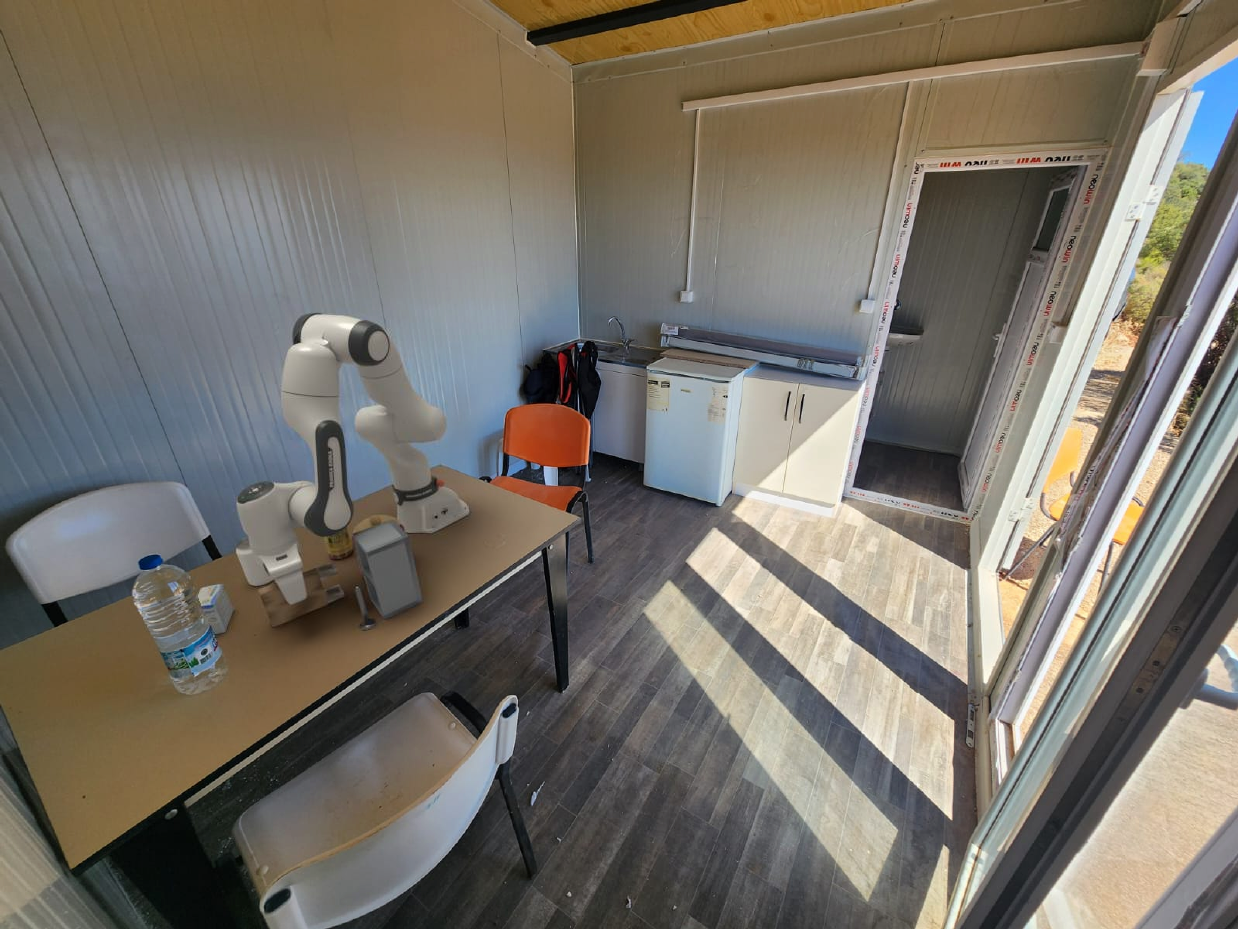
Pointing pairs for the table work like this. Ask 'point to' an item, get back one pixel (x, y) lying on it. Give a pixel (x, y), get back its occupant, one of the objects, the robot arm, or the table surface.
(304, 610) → the door
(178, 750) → the table surface
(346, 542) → the sauce bottle
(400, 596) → the cabinet
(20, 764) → the table surface
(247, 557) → the can
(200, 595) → the medicine box
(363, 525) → the canister
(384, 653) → the table surface
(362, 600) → the hinge post
